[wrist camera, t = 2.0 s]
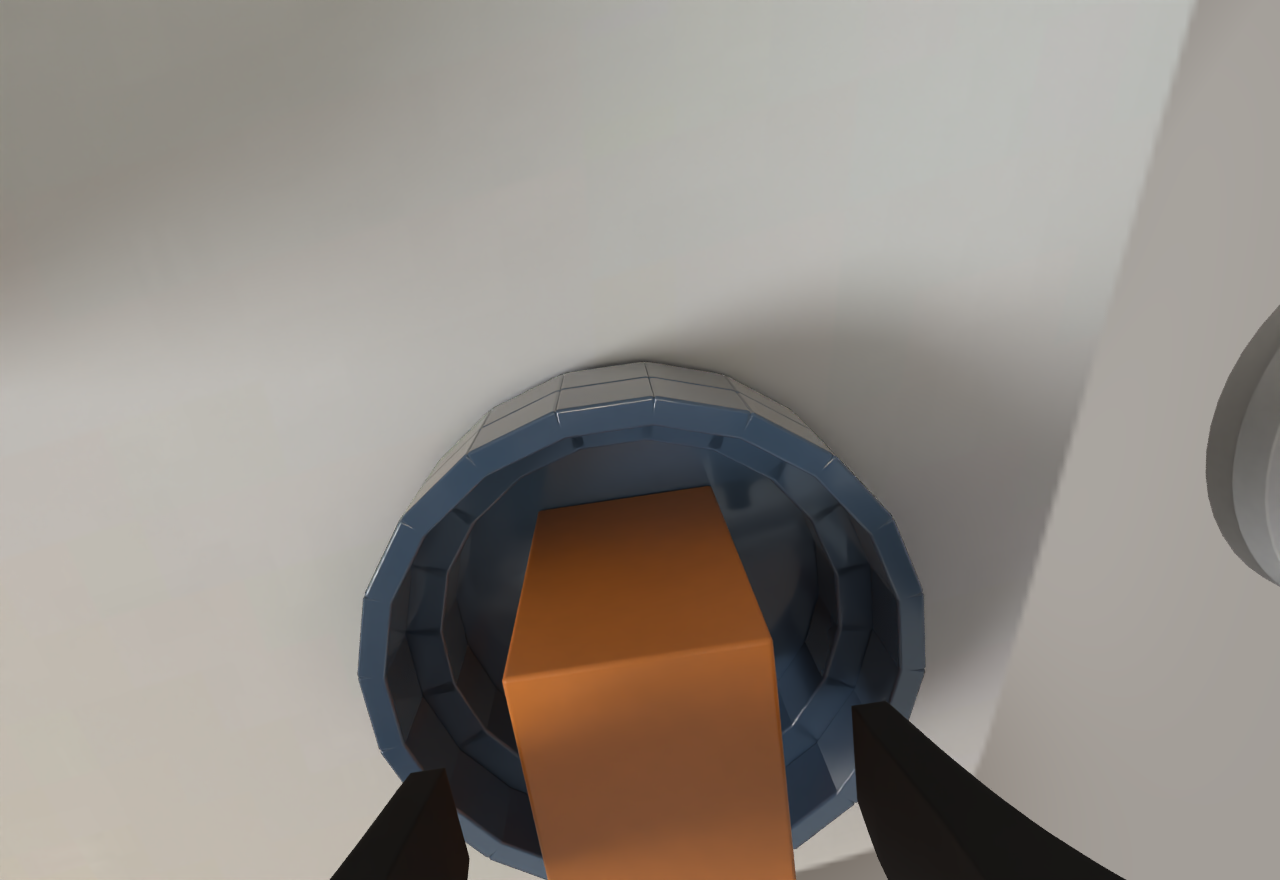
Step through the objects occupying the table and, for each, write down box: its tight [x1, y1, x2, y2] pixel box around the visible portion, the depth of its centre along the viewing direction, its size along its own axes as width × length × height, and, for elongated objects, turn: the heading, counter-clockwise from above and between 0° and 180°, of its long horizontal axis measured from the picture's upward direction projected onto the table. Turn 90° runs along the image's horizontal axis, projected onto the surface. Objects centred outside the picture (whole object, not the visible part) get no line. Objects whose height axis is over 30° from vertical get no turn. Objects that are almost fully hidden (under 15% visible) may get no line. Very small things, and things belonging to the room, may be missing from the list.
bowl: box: [357, 362, 925, 880], centre depth 18 cm, size 12×12×4 cm
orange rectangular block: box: [502, 486, 796, 880], centre depth 16 cm, size 4×6×7 cm
